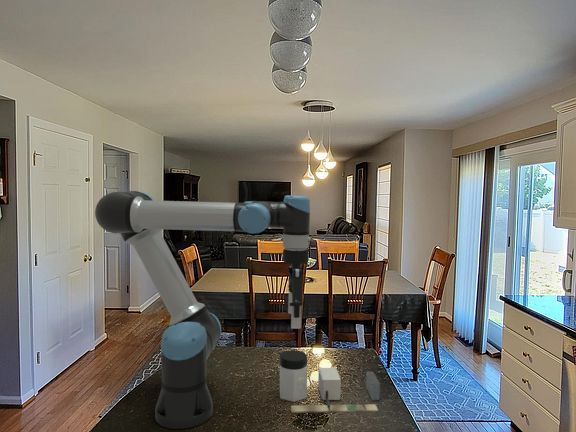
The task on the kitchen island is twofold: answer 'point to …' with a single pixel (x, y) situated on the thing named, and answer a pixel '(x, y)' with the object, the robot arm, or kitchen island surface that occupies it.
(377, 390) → the two-tone gray brick
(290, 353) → the jar
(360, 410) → the strip
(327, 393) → the carriage
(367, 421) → the kitchen island surface
